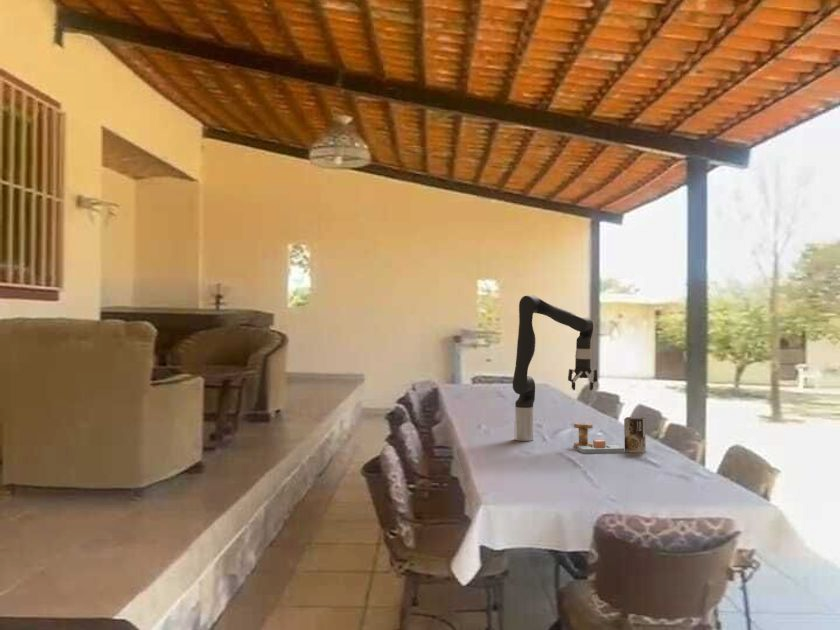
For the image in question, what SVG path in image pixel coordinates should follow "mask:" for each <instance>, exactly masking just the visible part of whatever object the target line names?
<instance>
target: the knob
mask: <svg viewBox="0 0 840 630" xmlns="http://www.w3.org/2000/svg"><path fill="white" fill-rule="evenodd" d="M573 428H574V429H578V441H576V442H573V447H574V448H577V446H590V447H592V448H593V442H588V441H589V440H588V439H589V431H588V429H593V423H586V422H585V423H584V422H580V423H579V422H577V423H573Z"/></svg>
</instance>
